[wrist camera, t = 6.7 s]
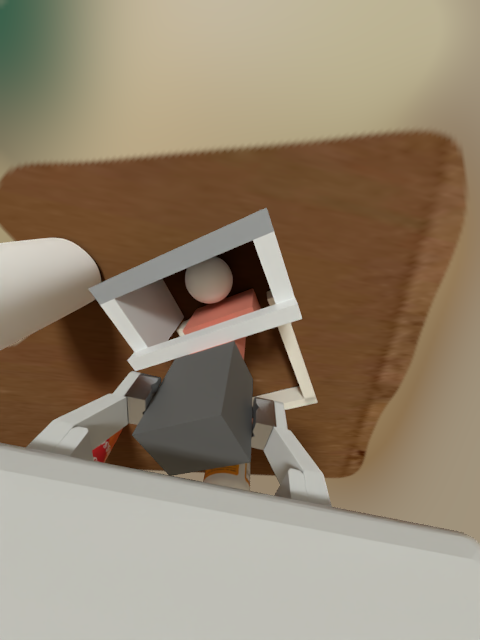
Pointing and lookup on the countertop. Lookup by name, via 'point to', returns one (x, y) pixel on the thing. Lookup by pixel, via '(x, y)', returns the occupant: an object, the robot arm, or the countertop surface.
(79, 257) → the can
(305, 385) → the white flat open frame
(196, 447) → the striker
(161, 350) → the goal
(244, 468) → the supplement bottle
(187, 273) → the ball
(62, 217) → the countertop surface
